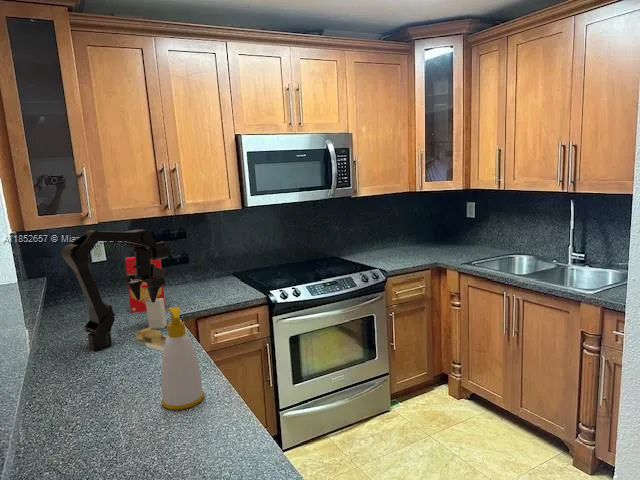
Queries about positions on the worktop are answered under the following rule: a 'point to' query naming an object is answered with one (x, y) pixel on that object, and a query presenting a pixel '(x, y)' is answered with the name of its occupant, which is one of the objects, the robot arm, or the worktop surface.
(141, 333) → the chip
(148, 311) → the skincare box
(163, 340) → the slot board
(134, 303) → the food packaging
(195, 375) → the soap bottle
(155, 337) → the chip
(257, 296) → the worktop surface
